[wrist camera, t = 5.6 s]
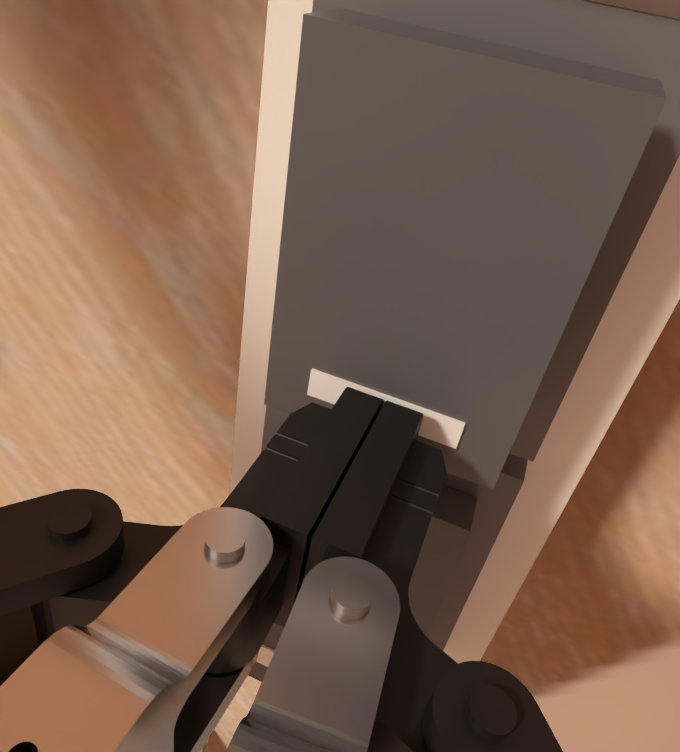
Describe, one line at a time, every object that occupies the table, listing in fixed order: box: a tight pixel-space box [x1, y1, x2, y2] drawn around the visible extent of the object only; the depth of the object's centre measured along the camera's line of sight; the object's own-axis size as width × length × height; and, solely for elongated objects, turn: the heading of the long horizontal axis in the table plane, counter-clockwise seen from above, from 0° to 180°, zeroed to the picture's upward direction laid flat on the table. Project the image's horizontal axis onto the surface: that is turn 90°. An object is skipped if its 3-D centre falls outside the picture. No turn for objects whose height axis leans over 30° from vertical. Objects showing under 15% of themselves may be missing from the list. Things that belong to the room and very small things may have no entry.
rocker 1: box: [264, 8, 667, 490], centre depth 10 cm, size 7×5×2 cm
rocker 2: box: [248, 485, 477, 682], centre depth 16 cm, size 7×5×2 cm
